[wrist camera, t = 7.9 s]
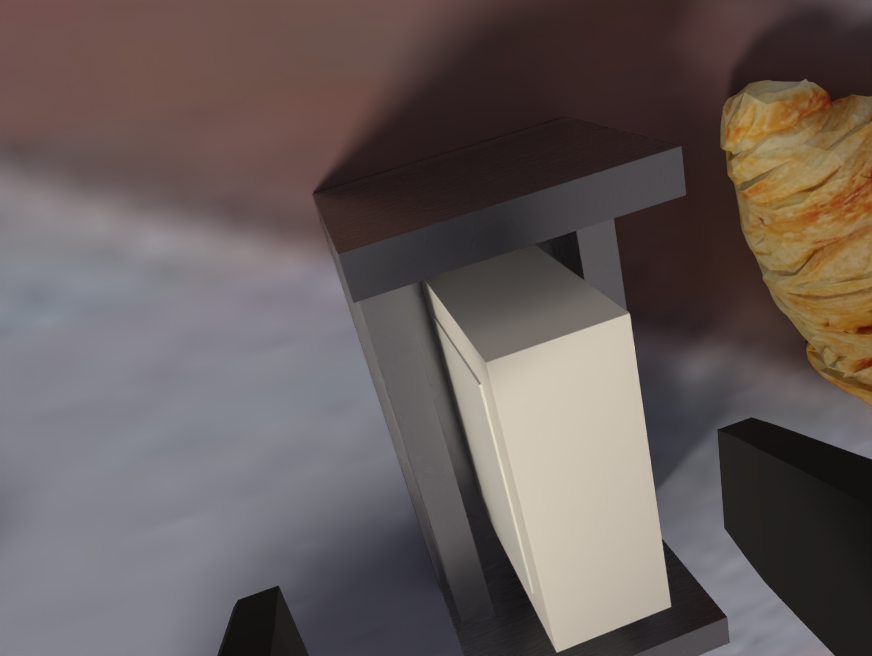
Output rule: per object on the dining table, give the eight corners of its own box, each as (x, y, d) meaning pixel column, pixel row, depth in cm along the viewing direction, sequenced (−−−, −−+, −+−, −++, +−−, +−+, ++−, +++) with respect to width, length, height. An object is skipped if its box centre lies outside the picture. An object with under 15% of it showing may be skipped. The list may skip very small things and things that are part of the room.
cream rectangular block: (571, 470, 23) (673, 605, 17) (480, 504, 22) (555, 653, 17) (524, 235, 19) (631, 312, 14) (415, 270, 19) (483, 363, 14)
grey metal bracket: (631, 520, 25) (729, 642, 20) (441, 592, 24) (494, 739, 19) (566, 116, 19) (681, 146, 14) (311, 193, 18) (337, 254, 13)
